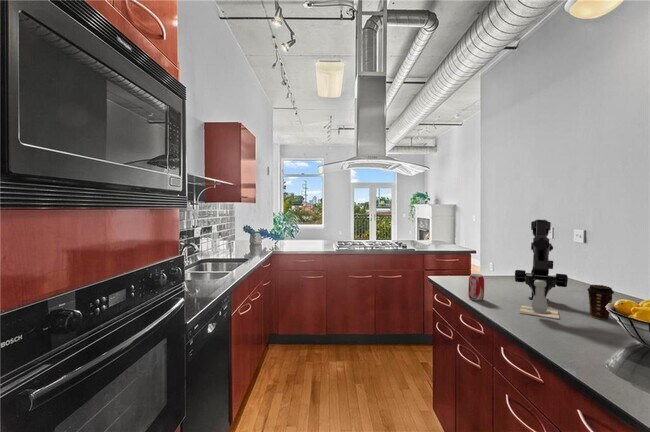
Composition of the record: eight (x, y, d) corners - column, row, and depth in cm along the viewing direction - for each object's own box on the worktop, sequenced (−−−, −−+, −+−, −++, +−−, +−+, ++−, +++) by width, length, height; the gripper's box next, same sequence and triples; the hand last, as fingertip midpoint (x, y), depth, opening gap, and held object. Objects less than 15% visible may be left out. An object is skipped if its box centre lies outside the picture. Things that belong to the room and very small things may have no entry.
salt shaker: (527, 309, 147) (528, 278, 146) (540, 309, 147) (541, 278, 147) (537, 314, 141) (538, 282, 140) (551, 313, 141) (552, 281, 141)
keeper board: (521, 305, 162) (521, 304, 162) (557, 310, 154) (557, 309, 154) (519, 313, 150) (519, 312, 150) (559, 319, 142) (559, 318, 142)
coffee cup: (608, 315, 148) (609, 285, 148) (617, 321, 140) (618, 289, 140) (583, 313, 151) (584, 283, 151) (591, 319, 143) (592, 287, 143)
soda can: (485, 301, 167) (486, 276, 167) (469, 300, 169) (470, 276, 168) (481, 298, 174) (482, 274, 174) (466, 297, 176) (467, 273, 175)
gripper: (515, 251, 151) (513, 281, 142) (568, 254, 141) (569, 287, 133) (516, 266, 158) (513, 296, 149) (566, 270, 149) (567, 303, 140)
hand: (539, 295), depth 143 cm, fingers closed on salt shaker, 3 cm apart
